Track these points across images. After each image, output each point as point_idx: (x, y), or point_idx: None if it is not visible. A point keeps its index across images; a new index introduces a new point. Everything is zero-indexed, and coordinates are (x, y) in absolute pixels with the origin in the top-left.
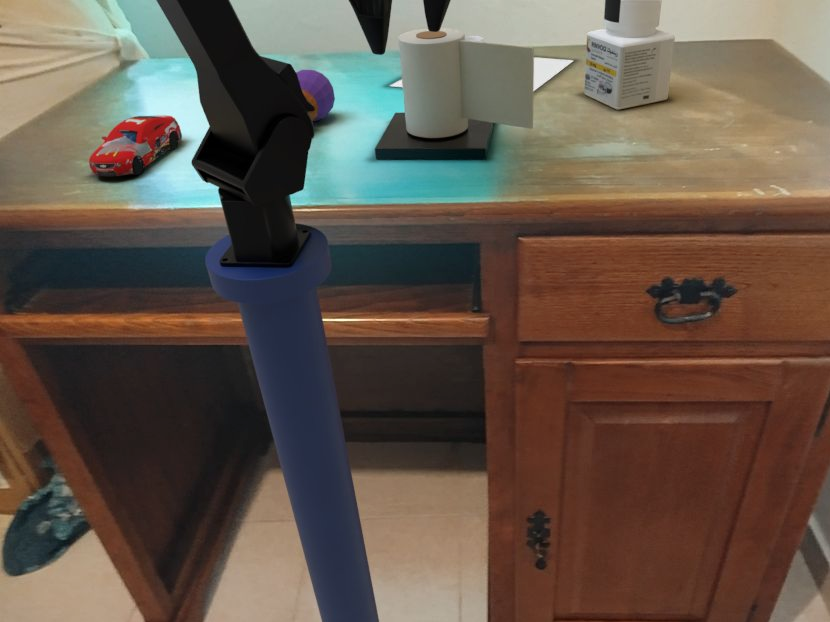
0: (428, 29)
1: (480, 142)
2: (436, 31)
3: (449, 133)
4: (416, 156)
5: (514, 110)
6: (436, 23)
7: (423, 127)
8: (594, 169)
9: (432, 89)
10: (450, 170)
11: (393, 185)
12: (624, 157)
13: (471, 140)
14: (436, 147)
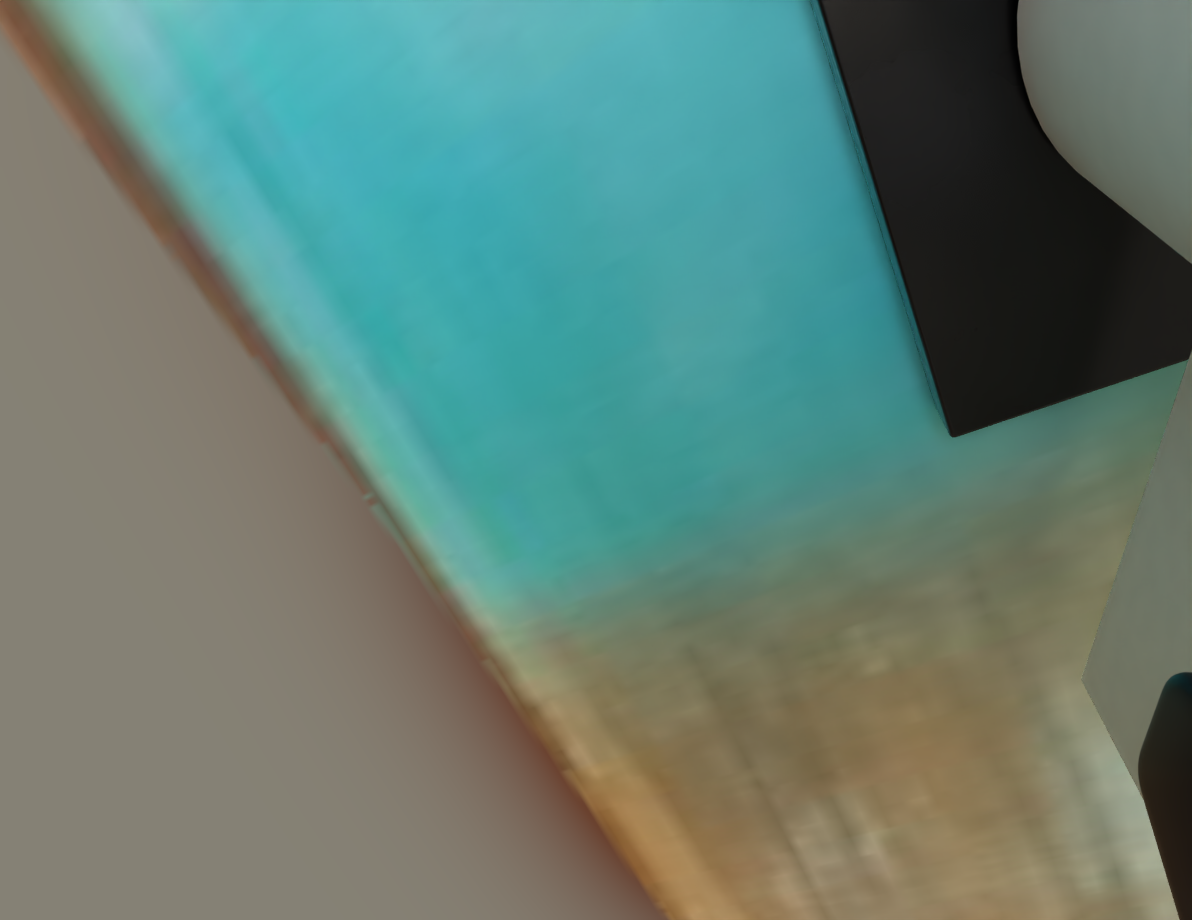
0: (1182, 677)
1: (1042, 374)
2: (1144, 758)
3: (1084, 177)
4: (822, 35)
5: (1143, 655)
6: (1176, 846)
7: (1043, 19)
8: (947, 821)
9: (1167, 198)
10: (731, 309)
11: (410, 125)
12: (1107, 871)
13: (1065, 311)
14: (889, 169)
